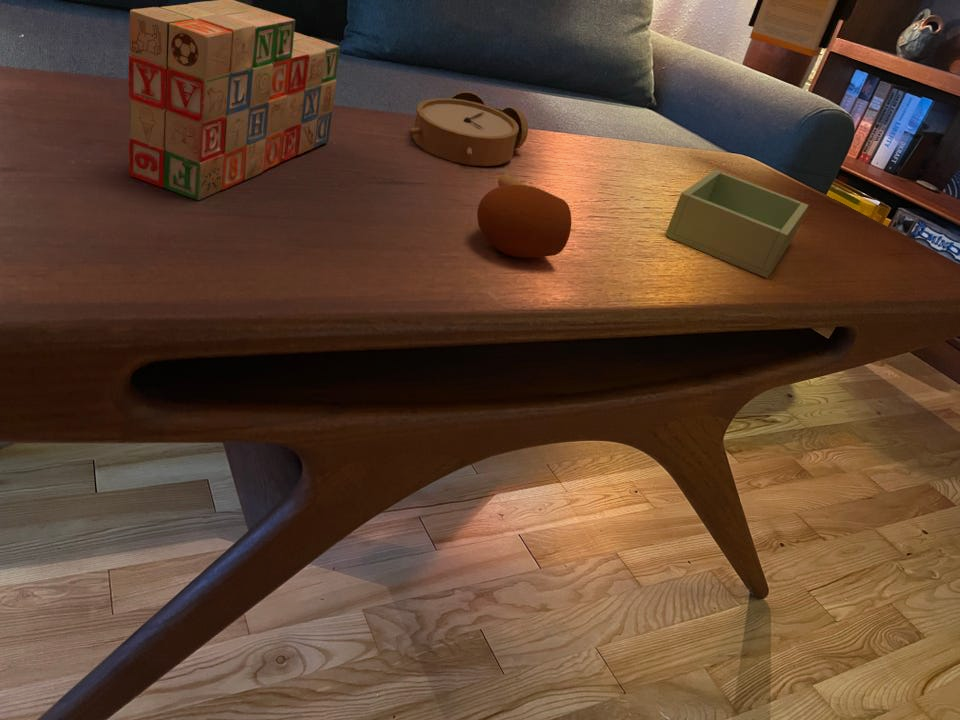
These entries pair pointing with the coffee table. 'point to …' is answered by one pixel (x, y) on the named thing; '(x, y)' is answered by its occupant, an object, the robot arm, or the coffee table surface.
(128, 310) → the coffee table surface
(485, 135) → the alarm clock
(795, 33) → the supplement box
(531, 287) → the coffee table surface
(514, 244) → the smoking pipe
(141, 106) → the stack of blocks
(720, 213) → the box
